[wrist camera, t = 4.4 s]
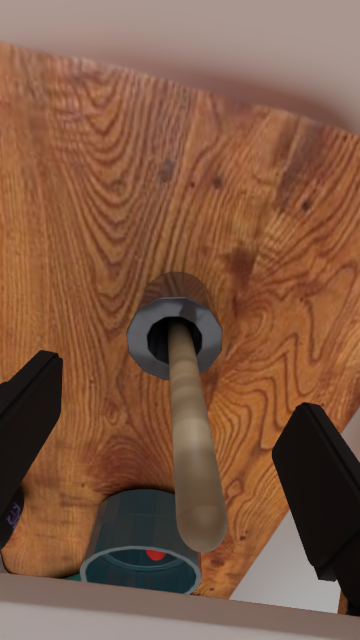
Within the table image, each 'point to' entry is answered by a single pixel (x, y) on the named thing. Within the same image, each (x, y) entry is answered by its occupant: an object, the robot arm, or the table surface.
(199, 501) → the stick
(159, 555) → the ball
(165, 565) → the bowl
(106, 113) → the table surface
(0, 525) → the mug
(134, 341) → the crock
